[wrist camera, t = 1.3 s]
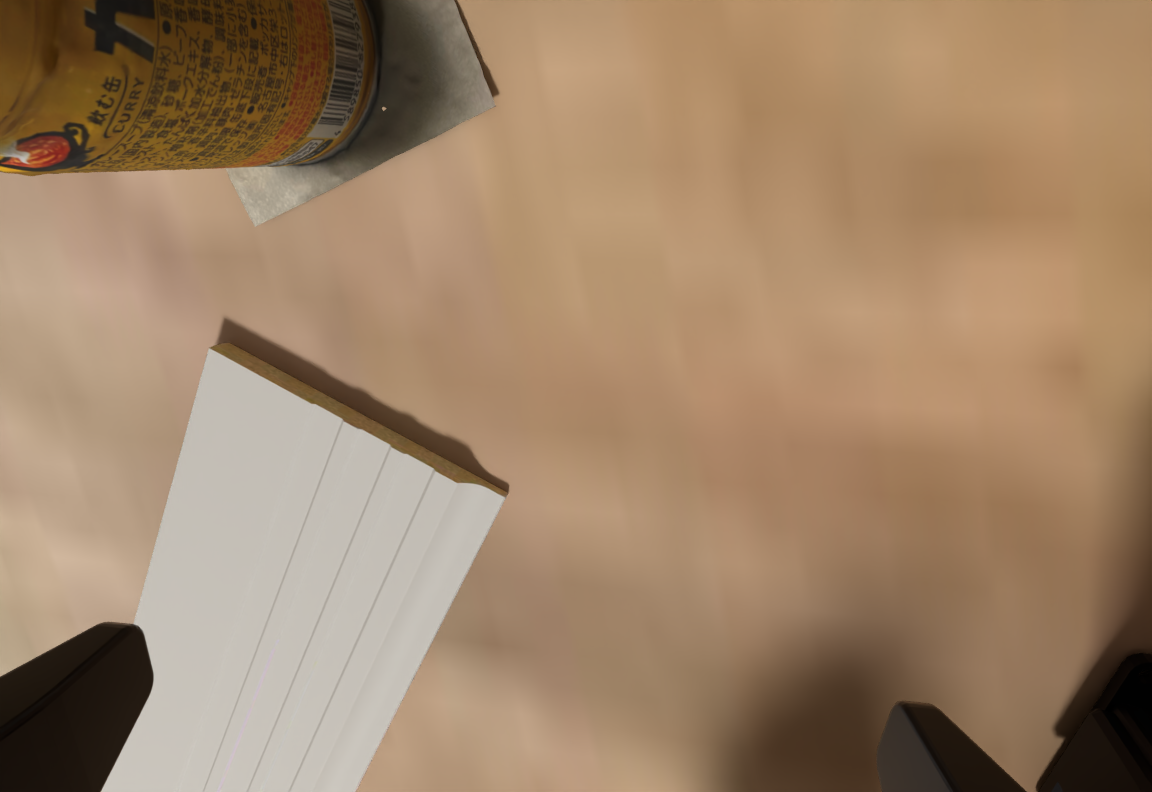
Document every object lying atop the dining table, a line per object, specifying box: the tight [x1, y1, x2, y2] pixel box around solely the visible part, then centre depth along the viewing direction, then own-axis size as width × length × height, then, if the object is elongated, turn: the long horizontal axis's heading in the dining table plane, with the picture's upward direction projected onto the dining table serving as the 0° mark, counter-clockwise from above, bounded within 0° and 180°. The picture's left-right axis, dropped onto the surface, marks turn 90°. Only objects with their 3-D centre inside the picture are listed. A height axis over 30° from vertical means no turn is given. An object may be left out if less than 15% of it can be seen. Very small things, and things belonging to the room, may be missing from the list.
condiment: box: [0, 0, 495, 227], centre depth 14 cm, size 7×8×12 cm
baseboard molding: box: [101, 343, 508, 792], centre depth 28 cm, size 31×3×12 cm
